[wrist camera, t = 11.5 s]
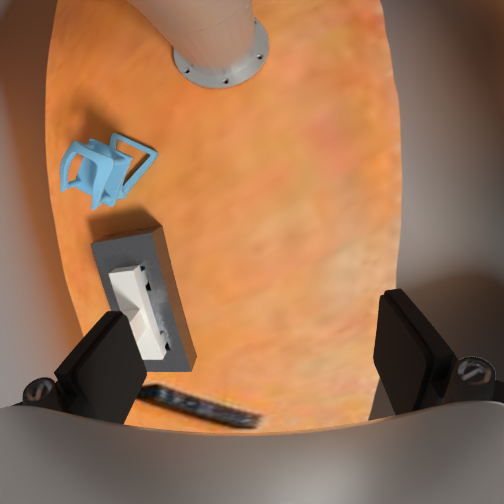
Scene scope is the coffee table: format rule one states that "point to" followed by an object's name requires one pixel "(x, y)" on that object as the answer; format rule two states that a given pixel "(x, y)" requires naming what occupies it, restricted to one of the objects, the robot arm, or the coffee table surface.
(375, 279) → the coffee table surface
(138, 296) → the white stepped block
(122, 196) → the chair
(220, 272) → the coffee table surface
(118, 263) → the slotted plate
